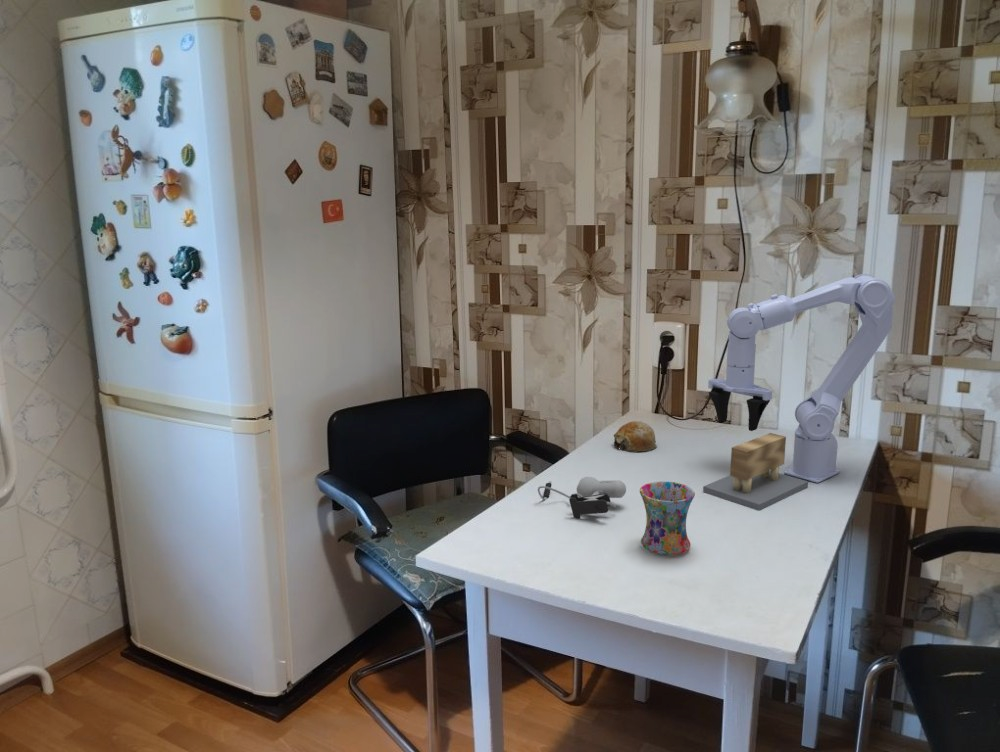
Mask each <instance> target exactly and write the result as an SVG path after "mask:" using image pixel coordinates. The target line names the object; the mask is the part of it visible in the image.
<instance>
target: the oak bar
mask: <svg viewBox="0 0 1000 752" xmlns="http://www.w3.org/2000/svg"><path fill="white" fill-rule="evenodd" d="M786 441H787V436H784V435H779V434H776V433H772V432H769V433H767V434H764V435H761V436H759V437H755V438H753V439H751V440H748V441H746V442H743V443H740V444H738V445H735V446H732V447H731V453H730V454H731V455H730V473H729V474H730V476H732V477H736V478H739V479H742V480H748V479H751V478H753V477H755V476H758V475H760V474H762V473H765V472H767V471H769V470H770V471H771V470H772V469H774V468H776V467H778V466H779V467H780V466H784V465H785V456H786V444H787V443H786Z"/></svg>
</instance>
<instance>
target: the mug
mask: <svg viewBox="0 0 1000 752" xmlns="http://www.w3.org/2000/svg"><path fill="white" fill-rule="evenodd" d="M639 494H640V496H641V499H642V502H643V504H644V509H645V515H646V516H645V517H646V521H645V522H646V523H645V524H646V525H645V530H644V534H643V535H642V537H641V539H640V544H641V546H642V547H643V549H645V550H646V551H648V552H651V553H653V554H655V555H660V556H677V555H681V554H684V553H685V552H687V551H689V549H690V548H691V541H690V539H689V538H688V537H689V536H688V533H687V519H688V518H687V516H688V513H689V509H690V507H691V503H692V502H693V499H695V495H696V493H695V490H694V489H693V488H692V487H691V486H688V485H686V484H683V483H680V482H676V481H664V480H663V481H653V482H649V483H646V484H644V485H642V486H641V487H640V489H639Z"/></svg>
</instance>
